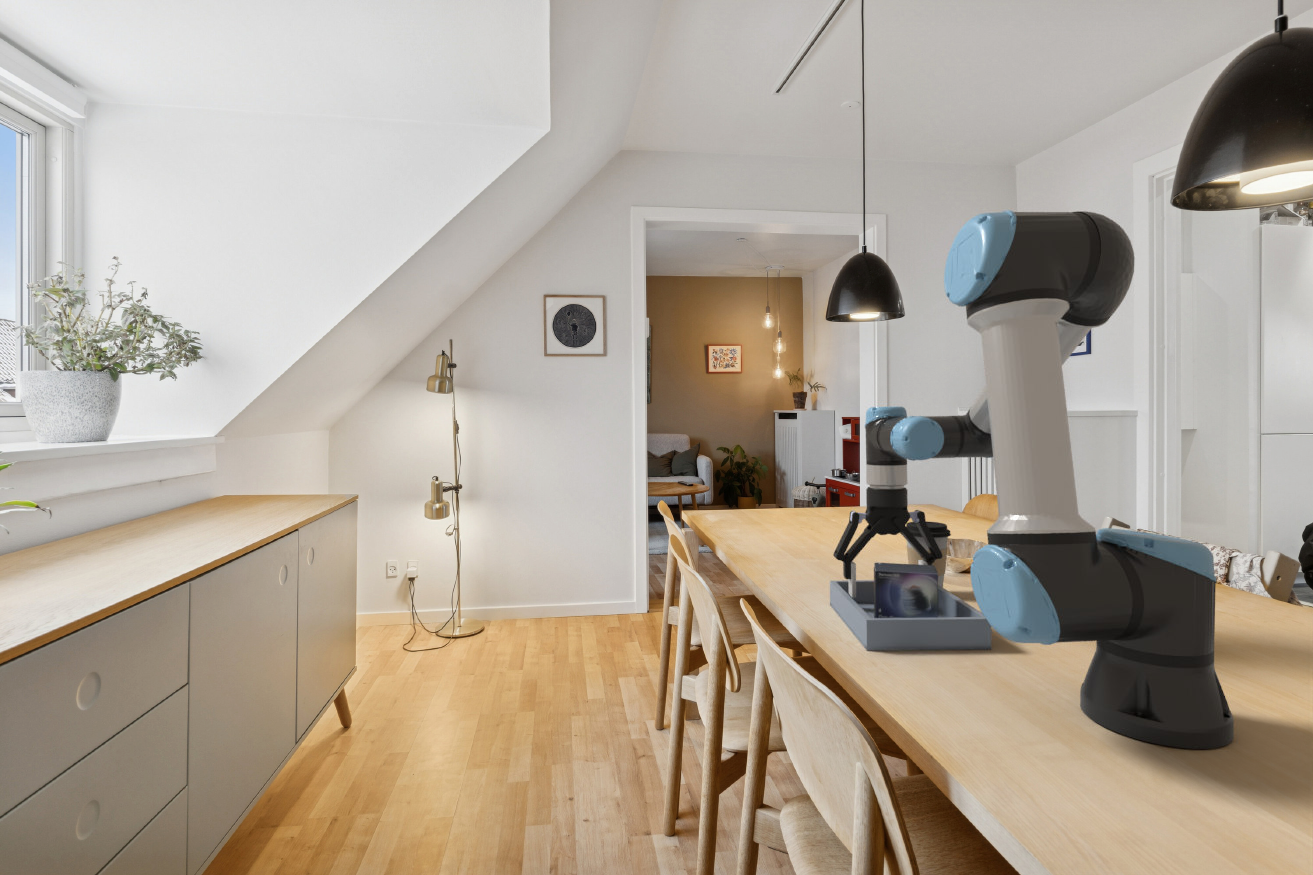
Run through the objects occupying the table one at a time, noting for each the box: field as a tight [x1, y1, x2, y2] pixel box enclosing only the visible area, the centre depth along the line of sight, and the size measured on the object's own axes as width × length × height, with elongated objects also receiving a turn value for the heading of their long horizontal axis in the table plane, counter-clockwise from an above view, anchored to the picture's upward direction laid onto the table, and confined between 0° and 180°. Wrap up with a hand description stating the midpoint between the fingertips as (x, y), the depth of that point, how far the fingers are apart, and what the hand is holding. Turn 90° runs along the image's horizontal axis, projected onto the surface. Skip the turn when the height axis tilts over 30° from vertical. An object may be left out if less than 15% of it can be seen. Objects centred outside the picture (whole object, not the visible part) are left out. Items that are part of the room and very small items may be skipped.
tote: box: [829, 579, 992, 652], centre depth 120 cm, size 26×20×5 cm
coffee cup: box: [905, 521, 952, 588], centre depth 140 cm, size 9×9×15 cm
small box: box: [873, 562, 938, 618], centre depth 118 cm, size 11×6×10 cm, turn 73°
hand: (887, 595), depth 128 cm, fingers open, 13 cm apart
